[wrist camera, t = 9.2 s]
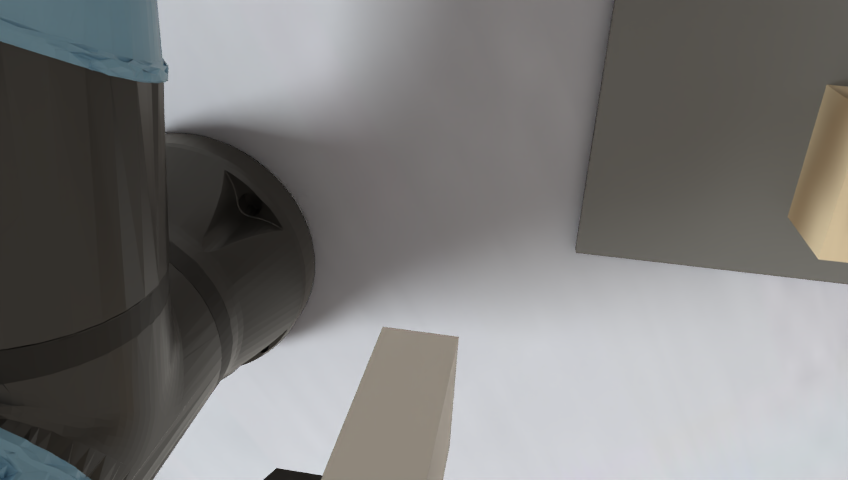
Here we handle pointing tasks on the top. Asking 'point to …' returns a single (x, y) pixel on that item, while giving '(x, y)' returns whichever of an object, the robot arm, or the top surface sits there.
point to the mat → (711, 132)
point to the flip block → (825, 181)
